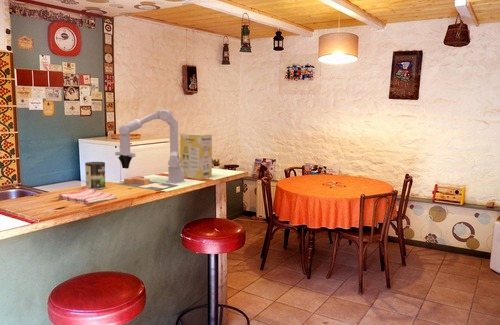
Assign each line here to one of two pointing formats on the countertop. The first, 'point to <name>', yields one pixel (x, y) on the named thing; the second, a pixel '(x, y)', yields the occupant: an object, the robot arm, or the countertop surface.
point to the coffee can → (95, 175)
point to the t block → (136, 180)
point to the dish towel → (87, 196)
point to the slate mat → (151, 185)
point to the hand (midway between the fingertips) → (125, 168)
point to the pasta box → (196, 155)
